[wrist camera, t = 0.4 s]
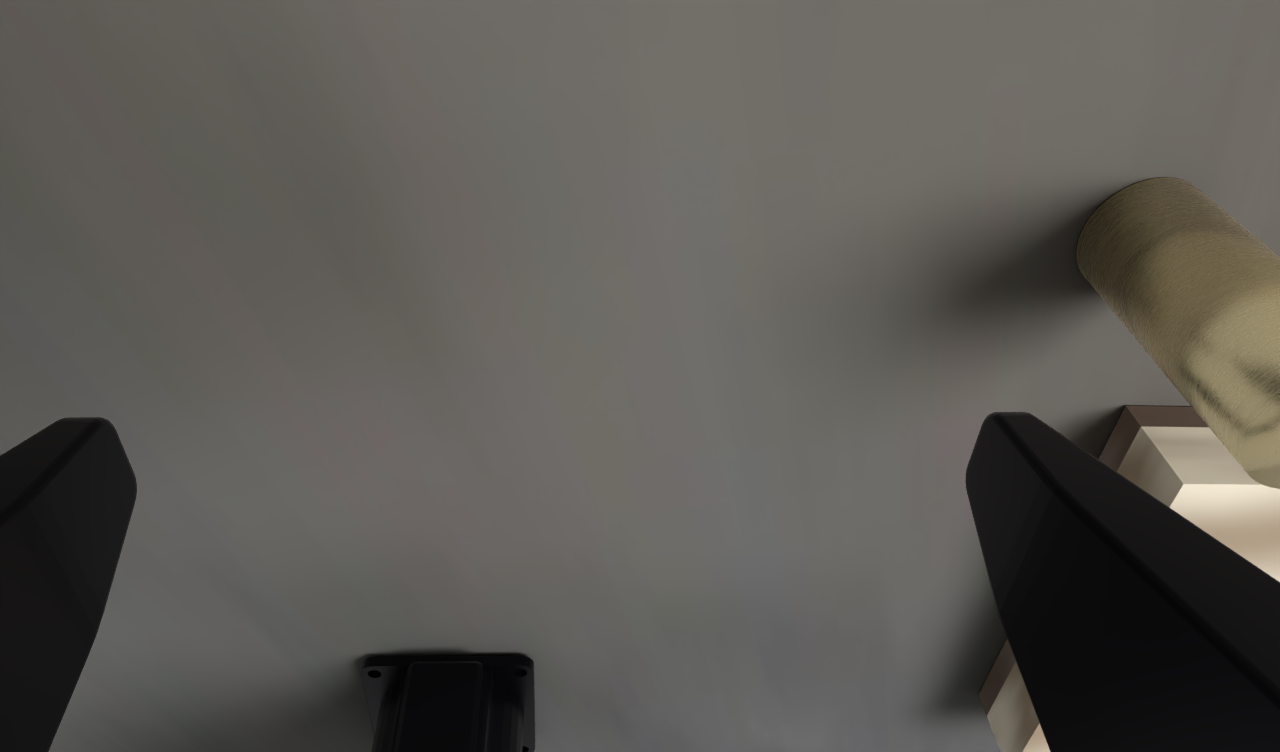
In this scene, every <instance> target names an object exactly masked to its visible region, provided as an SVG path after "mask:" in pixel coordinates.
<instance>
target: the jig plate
mask: <svg viewBox="0 0 1280 752" xmlns="http://www.w3.org/2000/svg"><path fill="white" fill-rule="evenodd" d="M1099 460H1100V461H1101V462H1103V463H1104V464H1106V465H1107V466H1109V467H1110V468H1112V469H1113V470H1115V471H1116V472H1118V473H1119V474H1121V475H1122V476H1124V477H1125V478H1127V479H1128V480H1130V481H1131V482H1133V483H1134V484H1135V485H1137V486H1138V487H1140V488H1141V489H1143V490H1144V491H1146V492H1147V493H1149V494H1150V495H1152V496H1153V497H1155V498H1156V499H1158V500H1159V501H1161V502H1162V503H1164V504H1165V505H1167V506H1168V507H1170V508H1171V509H1172V510H1174V511H1175V512H1177V513H1178V514H1180V515H1181V516H1183V517H1184V518H1186V519H1187V520H1189V521H1190V522H1192V523H1193V524H1195V525H1196V526H1198V527H1199V528H1201V529H1202V530H1204V531H1205V532H1206V533H1208V534H1209V535H1211V536H1212V537H1214V538H1215V539H1217V540H1218V541H1220V542H1221V543H1223V544H1224V545H1226V546H1227V547H1229V548H1230V549H1232V550H1233V551H1235V552H1236V553H1238V554H1239V555H1240V556H1242V557H1243V558H1245V559H1246V560H1248V561H1249V562H1251V563H1252V564H1254V565H1255V566H1257V567H1258V568H1260V569H1261V570H1263V571H1264V572H1266V573H1267V574H1269V575H1270V576H1272V577H1273V578H1275V579H1276V580H1277V581H1279V582H1280V489H1277V488H1271V487H1268V486H1264V485H1262V484H1260V483H1258V482H1256V481H1255V480H1253V479H1252V478H1251V477H1250V476H1249V475H1248V474H1247V473H1246V471H1245V470H1244V469H1243V468H1242V467H1241V465H1240V464H1239V463H1238V462H1237V461H1236V459H1235V458H1234V457H1233V456H1232V455H1231V453H1230V452H1229V451H1228V450H1227V448H1226V447H1225V446H1224V445H1223V444H1222V442H1221V441H1220V440H1219V439H1218V438H1217V436H1216V435H1215V434H1214V433H1213V432H1212V430H1211V429H1210V428H1209V427H1208V426H1207V424H1206V423H1205V422H1204V421H1203V419H1202V418H1201V417H1200V416H1199V415H1198V413H1197V412H1196V411H1195V410H1194V409H1193V407H1178V406H1125V408H1124V410H1123V412H1122V414H1121V416H1120V418H1119V420H1118V422H1117V424H1116V426H1115V427H1114V429H1113V431H1112V433H1111V435H1110V437H1109V439H1108V441H1107V443H1106V445H1105V447H1104V449H1103V451H1102V453H1101V455H1100V457H1099ZM978 695H979V698H980V700H981V703H982V705H983V708H984V711H985V713H986V716H987V718H988V721H989V723H990V726H991V729H992V731H993V734H994V736H995V739H996V741H997V744H998V747H999V749H1000V752H1050V749H1049V747H1048V744H1047V741H1046V739H1045V736H1044V734H1043V731H1042V728H1041V726H1040V723H1039V720H1038V718H1037V715H1036V713H1035V710H1034V707H1033V705H1032V702H1031V699H1030V697H1029V694H1028V692H1027V689H1026V686H1025V684H1024V681H1023V678H1022V676H1021V673H1020V671H1019V668H1018V665H1017V663H1016V660H1015V657H1014V655H1013V652H1012V650H1011V647H1010V644H1009V642H1008V639H1007V640H1006V641H1005V643H1004V645H1003V647H1002V649H1001V651H1000V653H999V655H998V657H997V659H996V661H995V663H994V665H993V667H992V669H991V671H990V673H989V675H988V677H987V679H986V681H985V683H984V685H983V687H982V689H981V691H980V693H979V694H978Z"/></svg>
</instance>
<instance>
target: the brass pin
mask: <svg viewBox="0 0 1280 752" xmlns="http://www.w3.org/2000/svg"><path fill="white" fill-rule="evenodd" d="M1076 260H1077V264H1078V267H1079V270H1080V271H1081V273H1082V275H1083V276H1084V277H1085V278H1086V279H1087V281H1088V282H1089V283H1090V284H1091V285H1092V287H1093V288H1094V289H1095V290H1096V292H1097V293H1098V294H1099V295H1100V296H1101V298H1102V299H1103V300H1104V301H1105V302H1106V304H1107V305H1108V306H1109V307H1110V308H1111V310H1112V311H1113V312H1114V313H1115V314H1116V316H1117V317H1118V318H1119V319H1120V321H1121V322H1122V323H1123V324H1124V325H1125V327H1126V328H1127V329H1128V330H1129V331H1130V333H1131V334H1132V335H1133V336H1134V337H1135V339H1136V340H1137V341H1138V342H1139V343H1140V345H1141V346H1142V347H1143V348H1144V349H1145V351H1146V352H1147V353H1148V354H1149V356H1150V357H1151V358H1152V359H1153V360H1154V362H1155V363H1156V364H1157V365H1158V366H1159V368H1160V369H1161V370H1162V371H1163V372H1164V374H1165V375H1166V376H1167V377H1168V378H1169V380H1170V381H1171V382H1172V383H1173V384H1174V386H1175V387H1176V388H1177V389H1178V391H1179V392H1180V393H1181V394H1182V395H1183V397H1184V398H1185V399H1186V400H1187V401H1188V403H1189V404H1190V405H1191V406H1192V407H1193V409H1194V410H1195V411H1196V412H1197V413H1198V415H1199V416H1200V417H1201V418H1202V419H1203V421H1204V422H1205V423H1206V424H1207V426H1208V427H1209V428H1210V429H1211V430H1212V432H1213V433H1214V434H1215V435H1216V436H1217V438H1218V439H1219V440H1220V441H1221V442H1222V444H1223V445H1224V446H1225V447H1226V448H1227V450H1228V451H1229V452H1230V453H1231V455H1232V456H1233V457H1234V458H1235V459H1236V461H1237V462H1238V463H1239V464H1240V465H1241V467H1242V468H1243V469H1244V470H1245V471H1246V473H1247V474H1248V475H1249V476H1250V477H1251V478H1252V479H1253V480H1255V481H1256V482H1258V483H1260V484H1262V485H1264V486H1268V487H1271V488H1277V489H1280V257H1279V256H1277V255H1276V254H1275V253H1274V252H1273V251H1271V250H1270V249H1269V248H1268V247H1267V246H1265V245H1264V244H1263V243H1262V242H1261V241H1260V240H1258V239H1257V238H1256V237H1255V236H1254V235H1252V234H1251V233H1250V232H1249V231H1248V230H1246V229H1245V228H1244V227H1243V226H1242V225H1241V224H1239V223H1238V222H1237V221H1236V220H1235V219H1233V218H1232V217H1231V216H1230V215H1229V214H1227V213H1226V212H1225V211H1224V210H1223V209H1222V208H1220V207H1219V206H1218V205H1217V204H1216V203H1214V202H1213V201H1212V200H1211V199H1210V198H1208V197H1207V196H1206V195H1205V194H1204V193H1203V192H1201V191H1200V190H1199V189H1198V188H1197V187H1195V186H1194V185H1192V184H1191V183H1189V182H1187V181H1184V180H1181V179H1177V178H1169V177H1163V178H1153V179H1148V180H1144V181H1141V182H1138V183H1135V184H1132V185H1130V186H1128V187H1126V188H1124V189H1122V190H1121V191H1119V192H1117V193H1116V194H1114V195H1113V196H1111V197H1110V198H1109V199H1107V200H1106V201H1105V202H1104V203H1103V204H1102V205H1100V206H1099V207H1098V209H1097V210H1096V211H1095V212H1094V213H1093V214H1092V215H1091V217H1090V218H1089V219H1088V221H1087V222H1086V224H1085V225H1084V227H1083V229H1082V231H1081V233H1080V236H1079V239H1078V242H1077V248H1076Z"/></svg>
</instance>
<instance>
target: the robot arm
mask: <svg viewBox="0 0 1280 752" xmlns="http://www.w3.org/2000/svg"><path fill="white" fill-rule="evenodd" d="M966 489H967V494H968V498H969V502H970V506H971V510H972V514H973V518H974V522H975V525H976V529H977V533H978V537H979V541H980V545H981V549H982V553H983V557H984V561H985V565H986V569H987V573H988V577H989V581H990V585H991V589H992V593H993V596H994V600H995V603H996V607H997V610H998V614H999V617H1000V620H1001V622H1002V625H1003V628H1004V631H1005V634H1006V637H1007V639H1008V642H1009V644H1010V647H1011V650H1012V652H1013V655H1014V657H1015V660H1016V663H1017V665H1018V668H1019V671H1020V673H1021V676H1022V678H1023V681H1024V684H1025V686H1026V689H1027V692H1028V694H1029V697H1030V699H1031V702H1032V705H1033V707H1034V710H1035V713H1036V715H1037V718H1038V720H1039V723H1040V726H1041V728H1042V731H1043V734H1044V736H1045V739H1046V741H1047V744H1048V747H1049V749H1050V752H1280V582H1279V581H1277V580H1276V579H1275V578H1273V577H1272V576H1270V575H1269V574H1267V573H1266V572H1264V571H1263V570H1261V569H1260V568H1258V567H1257V566H1255V565H1254V564H1252V563H1251V562H1249V561H1248V560H1246V559H1245V558H1243V557H1242V556H1240V555H1239V554H1238V553H1236V552H1235V551H1233V550H1232V549H1230V548H1229V547H1227V546H1226V545H1224V544H1223V543H1221V542H1220V541H1218V540H1217V539H1215V538H1214V537H1212V536H1211V535H1209V534H1208V533H1206V532H1205V531H1204V530H1202V529H1201V528H1199V527H1198V526H1196V525H1195V524H1193V523H1192V522H1190V521H1189V520H1187V519H1186V518H1184V517H1183V516H1181V515H1180V514H1178V513H1177V512H1175V511H1174V510H1172V509H1171V508H1170V507H1168V506H1167V505H1165V504H1164V503H1162V502H1161V501H1159V500H1158V499H1156V498H1155V497H1153V496H1152V495H1150V494H1149V493H1147V492H1146V491H1144V490H1143V489H1141V488H1140V487H1138V486H1137V485H1135V484H1134V483H1133V482H1131V481H1130V480H1128V479H1127V478H1125V477H1124V476H1122V475H1121V474H1119V473H1118V472H1116V471H1115V470H1113V469H1112V468H1110V467H1109V466H1107V465H1106V464H1104V463H1103V462H1101V461H1100V460H1099V459H1097V458H1096V457H1094V456H1093V455H1091V454H1090V453H1088V452H1087V451H1085V450H1084V449H1082V448H1081V447H1079V446H1078V445H1076V444H1075V443H1073V442H1072V441H1070V440H1069V439H1067V438H1066V437H1064V436H1063V435H1062V434H1060V433H1059V432H1057V431H1056V430H1054V429H1053V428H1051V427H1050V426H1048V425H1047V424H1045V423H1044V422H1042V421H1041V420H1039V419H1038V418H1036V417H1035V416H1033V415H1031V414H1029V413H1026V412H995V413H992V414H990V415H988V416H987V417H986V418H985V420H984V422H983V424H982V426H981V429H980V432H979V435H978V438H977V441H976V443H975V446H974V449H973V452H972V455H971V458H970V460H969V463H968V466H967V470H966ZM136 494H137V484H136V478H135V475H134V472H133V470H132V467H131V465H130V462H129V460H128V458H127V455H126V453H125V451H124V448H123V446H122V443H121V441H120V439H119V436H118V434H117V431H116V429H115V428H114V426H113V424H112V423H111V422H110V421H108V420H107V419H104V418H100V417H79V418H63V419H60V420H58V421H56V422H55V423H53V424H51V425H50V426H48V427H46V428H45V429H43V430H41V431H40V432H38V433H37V434H35V435H33V436H32V437H30V438H28V439H27V440H25V441H24V442H22V443H20V444H19V445H17V446H15V447H14V448H12V449H11V450H9V451H7V452H6V453H4V454H2V455H1V456H0V752H48V751H49V749H50V746H51V744H52V741H53V739H54V737H55V734H56V732H57V729H58V727H59V725H60V722H61V720H62V717H63V715H64V713H65V710H66V708H67V705H68V703H69V701H70V698H71V696H72V693H73V691H74V689H75V686H76V684H77V681H78V679H79V677H80V674H81V672H82V670H83V667H84V665H85V662H86V660H87V658H88V655H89V652H90V650H91V647H92V645H93V642H94V640H95V637H96V634H97V632H98V628H99V625H100V622H101V619H102V616H103V613H104V610H105V606H106V603H107V599H108V596H109V592H110V589H111V585H112V582H113V578H114V575H115V571H116V567H117V564H118V560H119V557H120V553H121V550H122V546H123V543H124V539H125V536H126V532H127V529H128V525H129V522H130V518H131V515H132V511H133V508H134V504H135V500H136ZM361 676H362V680H363V685H364V690H365V694H366V699H367V704H368V708H369V713H370V717H371V722H372V727H373V731H374V740H373V745H372V751H371V752H534V750H535V697H534V662H533V661H532V660H531V659H530V658H528V657H524V656H475V657H372V658H368V659H366V660H365V661H364V662H363V667H362V671H361Z"/></svg>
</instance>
